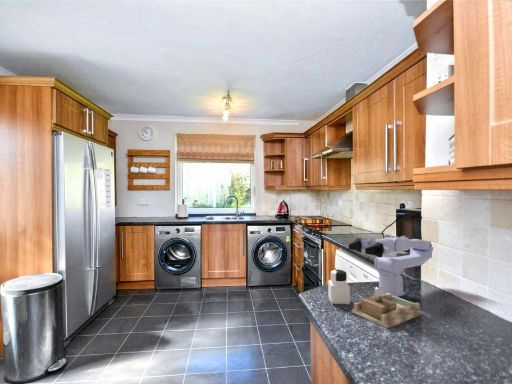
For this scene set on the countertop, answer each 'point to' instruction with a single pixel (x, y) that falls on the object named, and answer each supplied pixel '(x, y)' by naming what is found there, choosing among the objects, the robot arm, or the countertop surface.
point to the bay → (392, 312)
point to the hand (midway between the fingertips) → (357, 248)
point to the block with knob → (377, 304)
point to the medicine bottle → (338, 288)
